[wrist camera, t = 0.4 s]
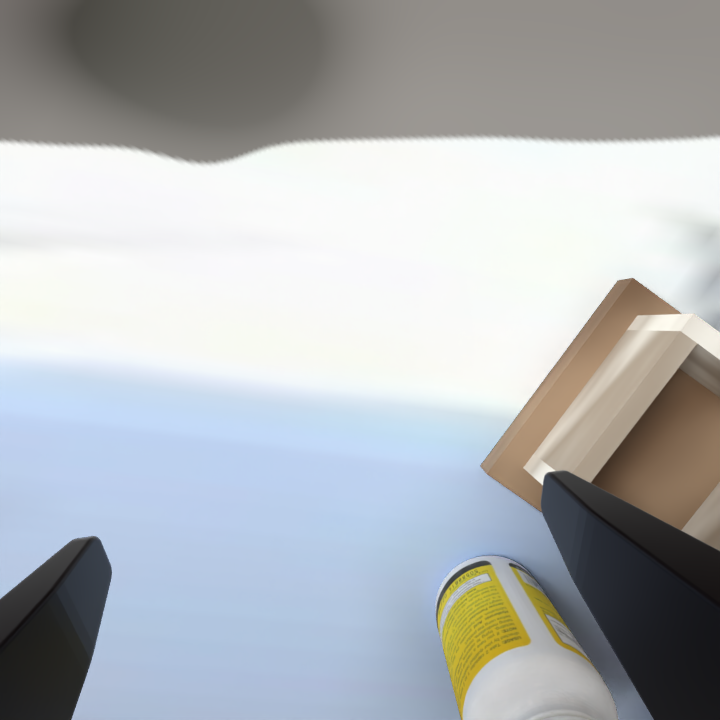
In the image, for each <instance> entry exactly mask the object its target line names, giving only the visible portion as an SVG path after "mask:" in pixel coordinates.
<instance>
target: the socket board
mask: <svg viewBox="0 0 720 720" xmlns="http://www.w3.org/2000/svg"><path fill="white" fill-rule="evenodd" d="M481 467H482V469H483V470H484V471H485V472H486V474H488V475H489V476H491V477H492V478H493V479H495V480H496V481H498V482H499V483H501V484H502V485H503V486H505V487H506V488H508V489H509V490H511V491H512V492H513V493H515V494H516V495H518V496H519V497H520V498H522V499H523V500H525V501H526V502H528V503H529V504H530V505H532V506H533V507H535V508H536V509H538V510H539V511H540V512H542V510H541V495H542V488H543V480H544V476H545V474H546V473H548V472H552V471H559V470H566V471H569V472H571V473H573V474H574V475H576V476H578V477H580V478H582V479H584V480H586V481H588V482H590V483H592V484H594V485H595V486H597V487H599V488H601V489H603V490H605V491H607V492H609V493H611V494H613V495H615V496H616V497H618V498H620V499H622V500H624V501H626V502H628V503H630V504H632V505H634V506H636V507H637V508H639V509H641V510H643V511H645V512H647V513H649V514H651V515H653V516H655V517H657V518H658V519H660V520H662V521H664V522H666V523H668V524H670V525H672V526H674V527H676V528H678V529H679V530H681V531H683V532H685V533H687V534H689V535H691V536H693V537H695V538H697V539H699V540H700V541H702V542H704V543H706V544H708V545H710V546H712V547H714V548H716V549H718V550H720V332H718V331H717V330H716V329H714V328H713V327H711V326H710V325H709V324H707V323H706V322H705V321H703V320H702V319H701V318H699V317H698V316H696V315H695V314H681V313H680V312H679V311H677V310H676V309H675V308H673V307H672V306H670V305H669V304H668V303H666V302H665V301H664V300H662V299H661V298H659V297H658V296H657V295H655V294H654V293H653V292H651V291H650V290H649V289H647V288H646V287H644V286H643V285H642V284H640V283H639V282H638V281H636V280H635V279H634V278H630V279H624V280H619V281H617V283H616V284H615V285H614V287H613V288H612V289H611V291H610V292H609V293H608V295H607V296H606V297H605V299H604V300H603V301H602V303H601V304H600V305H599V307H598V308H597V309H596V311H595V312H594V314H593V315H592V316H591V318H590V319H589V320H588V322H587V323H586V324H585V326H584V327H583V328H582V330H581V331H580V332H579V334H578V335H577V336H576V338H575V339H574V340H573V342H572V343H571V344H570V346H569V347H568V348H567V350H566V351H565V353H564V354H563V355H562V357H561V358H560V359H559V361H558V362H557V363H556V365H555V366H554V367H553V369H552V370H551V371H550V373H549V374H548V375H547V377H546V378H545V379H544V381H543V382H542V383H541V385H540V386H539V388H538V389H537V390H536V392H535V393H534V394H533V396H532V397H531V398H530V400H529V401H528V402H527V404H526V405H525V406H524V408H523V409H522V410H521V412H520V413H519V414H518V416H517V417H516V418H515V420H514V421H513V422H512V424H511V425H510V427H509V428H508V429H507V431H506V432H505V433H504V435H503V436H502V437H501V439H500V440H499V441H498V443H497V444H496V445H495V447H494V448H493V449H492V451H491V452H490V453H489V455H488V456H487V457H486V459H485V460H484V462H483V463H482V464H481Z"/></svg>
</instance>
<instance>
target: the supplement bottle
mask: <svg viewBox="0 0 720 720" xmlns="http://www.w3.org/2000/svg"><path fill="white" fill-rule="evenodd" d="M435 612H436V620H437V627H438V631H439V635H440V638H441V642H442V646H443V650H444V654H445V658H446V661H447V666H448V670H449V673H450V677H451V681H452V685H453V689H454V693H455V697H456V701H457V705H458V709H459V713H460V716H461V720H618V714H617V709H616V706H615V703H614V700H613V698H612V695H611V693H610V691H609V689H608V687H607V686H606V684H605V682H604V681H603V679H602V677H601V675H600V674H599V672H598V671H597V670H596V668H595V667H594V665H593V664H592V662H591V661H590V659H589V658H588V656H587V655H586V654H585V652H584V651H583V649H582V647H581V646H580V644H579V643H578V642H577V640H576V639H575V637H574V636H573V634H572V633H571V631H570V630H569V628H568V627H567V625H566V624H565V622H564V621H563V619H562V618H561V616H560V615H559V613H558V612H557V610H556V609H555V607H554V606H553V605H552V603H551V601H550V600H549V599H548V597H547V596H546V594H545V592H544V591H543V589H542V588H541V587H540V585H539V584H538V582H537V581H536V580H535V578H534V577H533V576H532V575H531V574H530V573H529V572H528V571H527V570H526V569H525V568H524V567H523V566H521V565H520V564H518V563H517V562H515V561H513V560H510V559H508V558H504V557H500V556H491V555H489V556H479V557H475V558H472V559H469V560H466V561H464V562H462V563H461V564H459V565H458V566H456V567H455V568H454V569H452V570H451V571H450V572H449V573H448V575H447V576H446V577H445V579H444V580H443V582H442V584H441V586H440V588H439V590H438V593H437V597H436V605H435Z"/></svg>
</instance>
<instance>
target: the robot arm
mask: <svg viewBox="0 0 720 720" xmlns="http://www.w3.org/2000/svg"><path fill="white" fill-rule="evenodd" d="M541 510H542V513H543V516H544V518H545V520H546V522H547V524H548V527H549V529H550V531H551V533H552V535H553V538H554V540H555V542H556V544H557V546H558V549H559V551H560V553H561V555H562V557H563V560H564V562H565V564H566V566H567V568H568V571H569V573H570V575H571V577H572V579H573V581H574V583H575V585H576V587H577V588H578V590H579V592H580V594H581V595H582V597H583V599H584V601H585V602H586V604H587V606H588V607H589V609H590V611H591V613H592V614H593V616H594V618H595V619H596V621H597V623H598V625H599V626H600V628H601V630H602V631H603V633H604V635H605V637H606V638H607V640H608V642H609V643H610V645H611V647H612V649H613V650H614V652H615V654H616V655H617V657H618V659H619V661H620V662H621V664H622V666H623V667H624V669H625V671H626V673H627V674H628V676H629V678H630V679H631V681H632V683H633V685H634V686H635V688H636V690H637V691H638V693H639V695H640V697H641V698H642V700H643V702H644V703H645V705H646V707H647V709H648V710H649V712H650V714H651V715H652V717H653V719H654V720H720V550H718V549H716V548H714V547H712V546H710V545H708V544H706V543H704V542H702V541H700V540H699V539H697V538H695V537H693V536H691V535H689V534H687V533H685V532H683V531H681V530H679V529H678V528H676V527H674V526H672V525H670V524H668V523H666V522H664V521H662V520H660V519H658V518H657V517H655V516H653V515H651V514H649V513H647V512H645V511H643V510H641V509H639V508H637V507H636V506H634V505H632V504H630V503H628V502H626V501H624V500H622V499H620V498H618V497H616V496H615V495H613V494H611V493H609V492H607V491H605V490H603V489H601V488H599V487H597V486H595V485H594V484H592V483H590V482H588V481H586V480H584V479H582V478H580V477H578V476H576V475H574V474H573V473H571V472H569V471H566V470H559V471H552V472H548V473H546V474H545V476H544V480H543V488H542V495H541ZM111 576H112V569H111V565H110V562H109V560H108V557H107V555H106V552H105V550H104V548H103V545H102V543H101V541H100V539H99V538H98V537H96V536H90V537H83V538H77V539H74V540H72V541H70V542H69V543H68V544H67V545H65V546H64V547H63V548H62V549H61V550H59V551H58V552H57V553H56V554H54V555H53V556H52V557H51V558H50V559H48V560H47V561H46V562H45V563H44V564H42V565H41V566H40V567H39V568H37V569H36V570H35V571H34V572H33V573H31V574H30V575H29V576H28V577H26V578H25V579H24V580H23V581H22V582H20V583H19V584H18V585H17V586H16V587H14V588H13V589H12V590H11V591H9V592H8V593H7V594H6V595H5V596H3V597H2V598H1V599H0V720H71V719H72V716H73V713H74V710H75V707H76V704H77V701H78V699H79V696H80V693H81V690H82V687H83V684H84V681H85V678H86V676H87V672H88V669H89V666H90V663H91V660H92V656H93V652H94V649H95V645H96V640H97V636H98V632H99V628H100V624H101V619H102V615H103V611H104V607H105V603H106V598H107V594H108V590H109V586H110V582H111Z"/></svg>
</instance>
